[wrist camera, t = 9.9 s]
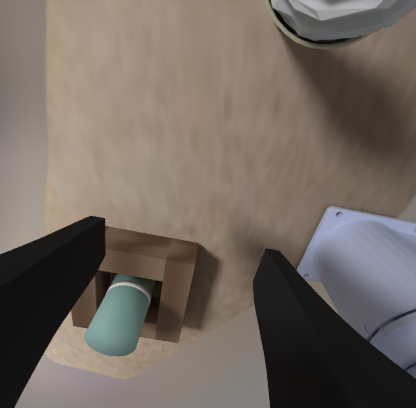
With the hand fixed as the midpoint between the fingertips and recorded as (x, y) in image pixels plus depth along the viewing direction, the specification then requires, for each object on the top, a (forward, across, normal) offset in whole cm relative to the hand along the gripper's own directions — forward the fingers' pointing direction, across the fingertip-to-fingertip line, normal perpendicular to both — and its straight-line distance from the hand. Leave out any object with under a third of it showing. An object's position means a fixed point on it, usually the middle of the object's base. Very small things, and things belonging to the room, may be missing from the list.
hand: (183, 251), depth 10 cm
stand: (+9, +4, +12) cm, 16 cm away
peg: (+9, +4, +12) cm, 16 cm away
